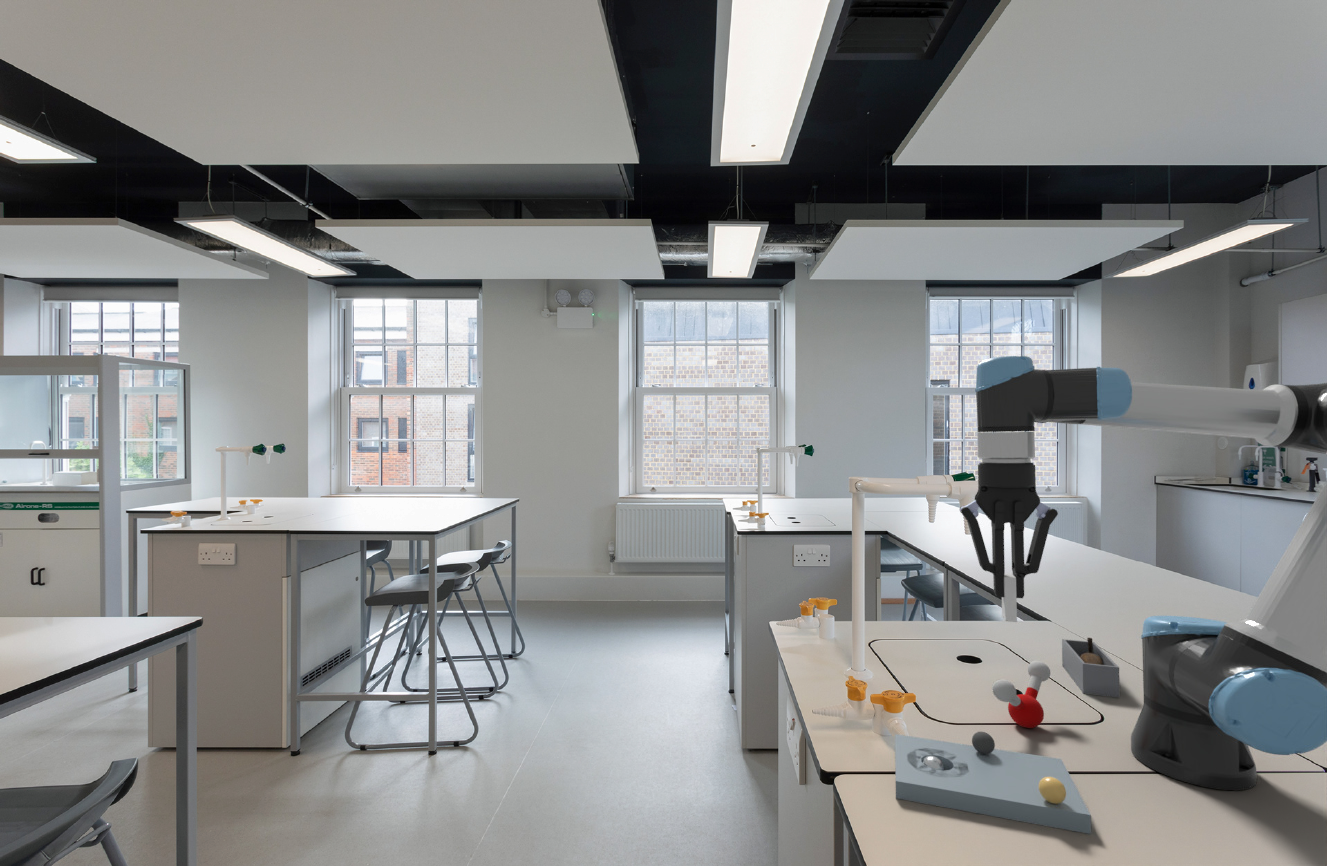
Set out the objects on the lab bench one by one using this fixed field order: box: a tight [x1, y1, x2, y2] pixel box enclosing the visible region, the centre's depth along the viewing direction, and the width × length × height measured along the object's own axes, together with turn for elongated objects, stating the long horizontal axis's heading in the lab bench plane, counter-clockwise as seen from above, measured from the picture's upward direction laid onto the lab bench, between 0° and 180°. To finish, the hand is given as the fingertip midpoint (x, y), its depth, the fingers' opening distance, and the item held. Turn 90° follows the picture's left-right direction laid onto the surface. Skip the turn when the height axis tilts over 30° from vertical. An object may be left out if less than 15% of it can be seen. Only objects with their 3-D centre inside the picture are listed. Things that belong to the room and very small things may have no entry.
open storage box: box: [1061, 638, 1121, 699], centre depth 131 cm, size 6×16×6 cm, turn 160°
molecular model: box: [991, 660, 1051, 729], centre depth 111 cm, size 18×6×10 cm, turn 133°
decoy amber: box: [1039, 777, 1066, 804], centre depth 84 cm, size 3×3×3 cm
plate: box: [894, 733, 1092, 835], centre depth 92 cm, size 24×15×2 cm, turn 70°
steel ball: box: [922, 756, 944, 771], centre depth 94 cm, size 3×3×3 cm
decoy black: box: [971, 731, 996, 754], centre depth 97 cm, size 3×3×3 cm
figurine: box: [1080, 637, 1103, 665], centre depth 132 cm, size 14×4×9 cm, turn 149°
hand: (1009, 618), depth 92 cm, fingers closed
